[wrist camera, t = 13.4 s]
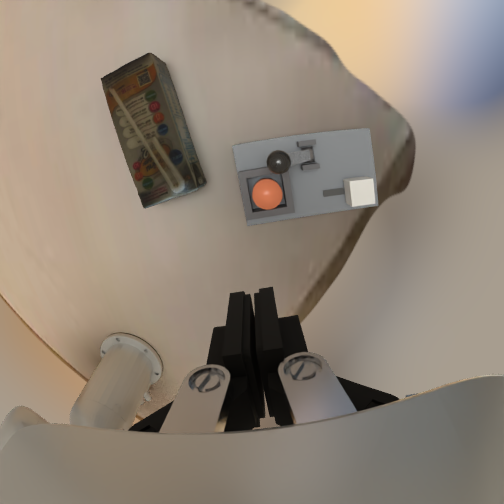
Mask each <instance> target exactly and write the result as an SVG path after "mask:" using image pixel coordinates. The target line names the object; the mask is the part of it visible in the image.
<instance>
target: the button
mask: <svg viewBox="0 0 504 504" xmlns="http://www.w3.org/2000/svg"><path fill="white" fill-rule="evenodd" d="M252 197H253V200H254V202H255V204H256V205H257V206H258V207H260V208H262V209H265V210H269V209H273V208H275V207H277V206H278V205H279V204H280V202H281V200H282V190H281V188H280V186H279V184H278V183H277V182H276V181H275V180H274V179H271V178H262V179H259V180H258V181H257V182H256V183H255V184H254V187H253V193H252Z"/></svg>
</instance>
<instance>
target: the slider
mask: <svg viewBox="0 0 504 504" xmlns="http://www.w3.org/2000/svg"><path fill="white" fill-rule="evenodd" d="M343 181H344V189H345V198H346V203H347V204H348V205H350V206H352V207H355V206H362V205H369V204H375V193H374V182H373V178H370V177H366V176H365V177H356V178H348V179H343Z"/></svg>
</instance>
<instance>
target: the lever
mask: <svg viewBox="0 0 504 504" xmlns="http://www.w3.org/2000/svg"><path fill="white" fill-rule="evenodd" d="M301 150H302V151H297V152H292V153H286V152H284V151H282V150H276V151H273V152H271V153H270V154H269V155H268V157H267V162H266V163H267V167H268V169H269V170H270V171H271V172H272V173H275V174H283V173H285V172H287V171H288V170H289V168H290V166H293V165H296V164H299V163H311V162H315V156H314V149H313V146H312V147H304V148H301Z"/></svg>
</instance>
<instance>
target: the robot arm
mask: <svg viewBox="0 0 504 504" xmlns="http://www.w3.org/2000/svg"><path fill="white" fill-rule="evenodd" d="M254 304H255V316H254V311H253V306H252V301H251V296H250V294H247V295H245V292H244V291H242V292H236V293H230V298H229V305H228V313H227V320H226V326H221V327H215V328H214V329H213V333H212V339H211V344H210V349H209V354H208V359H207V364H206V365H204V366H200V367H198V368H196V369H194V370H192V371H191V372H190V373H188V374H187V376H186V377H185V379H184V381H183V383H182V385H181V387H180V389H179V391H178V393H177V395H176V398H175V400H174V401H172V402H171V403H169V404H167V405H166V406H164V407H163V408H161V409H159V410H158V411H156V412H155V413H153V414H151V415H150V416H148V417H146V418H145V419H143V420H141V421H139V422H138V423H136V424H134V425H133V426H132V424H133V422H134V419H135V417H136V414H137V411H138V409H139V406H140V405H142V404H143V403H144V399H143V396H144V398H145V400H146V401H150V400H151V399H152V397H151V395H150V394H149V392H148V390H149V387H150V385H153V384H154V383H156V382H157V381H158V380H159V378H160V376H161V374H162V362H161V360H160V358H159V356H158V354H157V353H156V351H155V350H154V349H153V348H152V347H151V346H150V345H148V344H147V343H146V342H144V341H143V340H141V339H139V338H137V337H135V336H132V335H129V334H124V333H116V334H112V335H110V336H108V337H107V338H106V339H105V340H104V341H103V343H102V345H101V348H100V354H101V358H102V360H101V361H100V363H99V364H98V366H97V368H96V369H95V371H94V372H93V374H92V376H91V377H90V379H89V380H88V382H87V384H86V385H85V387H84V389H83V390H82V392H81V394H80V395H79V397H78V399H77V400H76V402H75V404H74V406H73V407H72V410H71V413H70V424H57V423H54V424H53V423H52V424H50V423H49V422H47V421H46V420H45V419H43V418H42V417H41V416H39V415H38V414H37V413H35V412H34V411H33V410H31V409H29V408H28V407H25V406H17V407H15V408H13V409H12V410H11V411H10V412H9V413H8V415H7V416H6V418H5V419H4V421H3V422H2V424H1V426H0V504H504V375H501V374H492V375H483V376H476V377H471V378H467V379H462V380H459V381H456V382H452V383H449V384H445V385H442V386H440V387H437V388H434V389H431V390H428V391H425V392H423V393H418V394H411V395H406V398H404V399H399V398H397V397H396V396H393V395H391V394H388V393H385V392H382V391H379V390H376V389H372V388H369V387H366V386H363V385H360V384H357V383H354V382H351V381H349V380H346V379H343V378H340V377H337V376H335V374H334V373H333V371H332V369H331V368H330V366H329V364H328V363H327V361H326V360H325V359H324V358H323V357H322V356H320V355H319V354H316V353H311V352H308V350H307V346H306V343H305V339H304V335H303V332H302V328H301V325H300V321H299V318H298V315H295V316H289V317H283V318H278V315H277V309H276V303H275V297H274V291H273V287H268V288H262V289H259V293H254ZM264 392H265V397H266V401H267V406H268V411H269V415H270V417H275V421H276V424H278V425H280V427H273V428H264V429H255V430H252V429H253V428H254V427H260V418H265V402H264Z"/></svg>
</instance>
